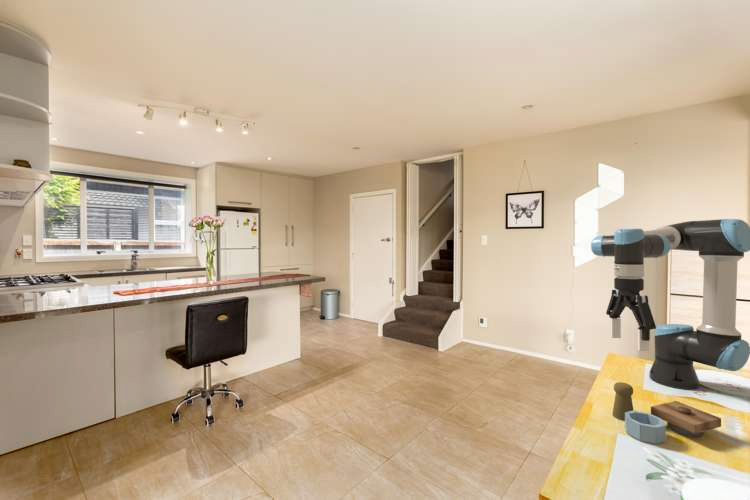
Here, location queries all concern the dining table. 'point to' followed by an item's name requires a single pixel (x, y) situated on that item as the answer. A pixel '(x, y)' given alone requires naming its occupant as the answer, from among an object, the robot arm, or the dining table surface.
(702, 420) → the lid
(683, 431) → the grey flattened dome
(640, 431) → the bowl
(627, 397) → the pepper shaker
